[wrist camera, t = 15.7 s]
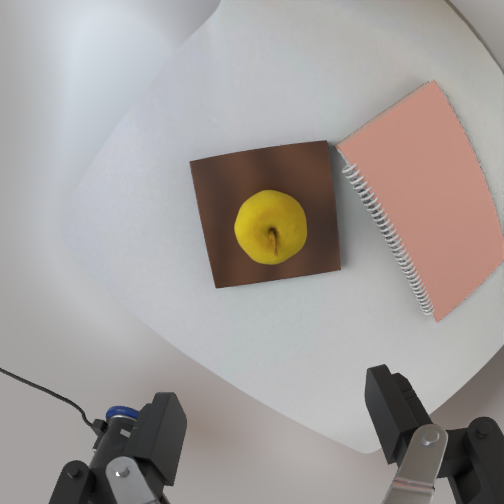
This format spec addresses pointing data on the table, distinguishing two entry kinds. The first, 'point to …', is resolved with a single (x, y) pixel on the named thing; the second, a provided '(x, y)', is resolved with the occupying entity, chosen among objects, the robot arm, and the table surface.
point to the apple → (271, 227)
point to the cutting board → (256, 180)
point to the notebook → (427, 197)
